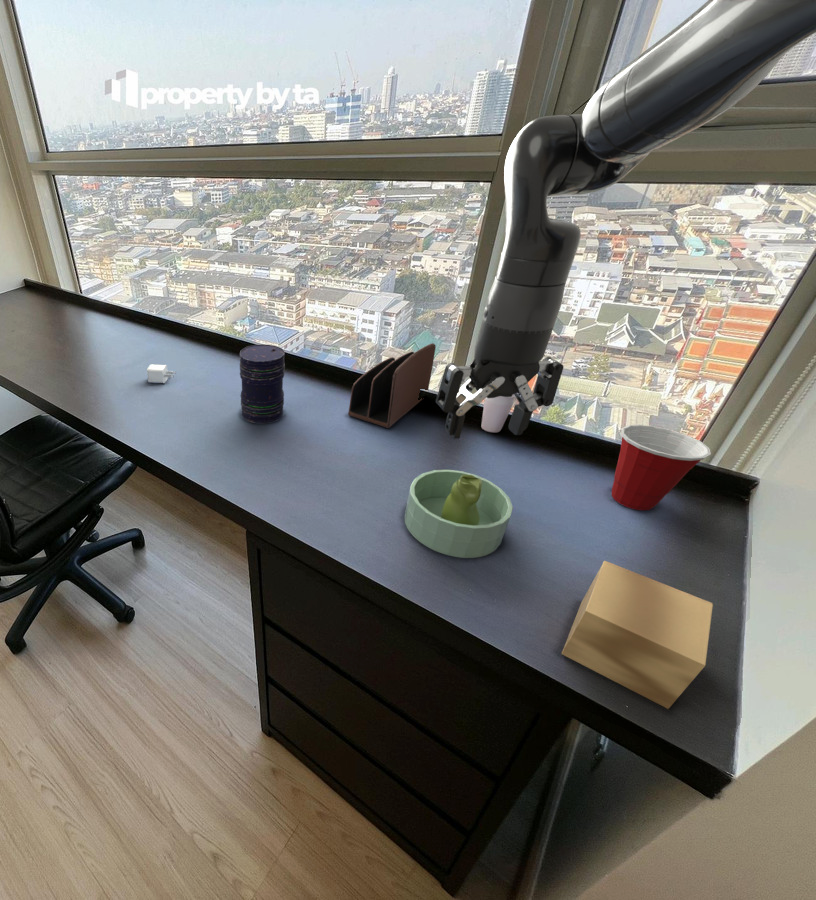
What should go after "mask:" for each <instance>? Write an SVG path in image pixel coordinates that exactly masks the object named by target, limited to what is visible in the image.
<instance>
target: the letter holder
mask: <svg viewBox="0 0 816 900" xmlns="http://www.w3.org/2000/svg"><path fill="white" fill-rule="evenodd" d="M436 346H437V345H436V344H435V343H430V344H427V345H424V346H423V347H421V348H420V349H418V350H416V351H409V352H406V353H403V354H402V355H400V356H399V357H397V358H395V357H393V356H392V357H388V358H386V359H384V360H383V361H381V362H379V363H377V364H376V365H374V366H373V367H371V368H370V369H369V370H367V371H365V372H364V373H363V374H362V375H361V376H360V377H359V378H357V380H355V382H354V383H353V385H352V386H351V393H350V399H349V406H348V413H347V414H348V415H347V416H349V417H353V418H356V419H359V420H362V421H365V422H367V423H371V424H374V425H377V426H380V427H383V428H386V429H389V428H391V427H392V426H393V425H394V424H395V423H396V422H398V421H399V420H400V419H401V418H402V417H403V416H405V415H406V414H407V413H408V412H410V411H411V410H412V409H413V408H415V406H417V405H418V404H419V403H421V401H422V400H423V399H422V398H421V399H420V400H418V398H419V393H420V389H425V390H428V391H429V387H430V384H431V383H430V382H431V377H432V373H433V372H432V371H433V366H434V360H435V354H436Z"/></svg>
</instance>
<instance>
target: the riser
mask: <svg viewBox="0 0 816 900" xmlns="http://www.w3.org/2000/svg"><path fill="white" fill-rule="evenodd" d="M713 607H714V603H713V602H710V601H708V600H706V599H703V598H700V597H697V596H696V595H694V594H691V593H689V592H688V593H687V592H685V591H682V590H680V589H677V588H675V587H674V586H673V587H672V586H670V585H668V584H665V583H663V582H660V581H657V580H656V579H655V580H654V579H653V578H650V577H648V576H645V575H642V574H640V573H637V572H636V571H633V570H630V569H627V568H624V567H622V566H619V565H617V564H615V563H612V562H609V561H607V560H603V562H602V564H601V566H600V568H599V570H598V571H597V573H596V575H595V577H594V578H593V580H592V582H591V584H590V586H589V588H588V589H587V591H586V593H585V595H584V597H583V599H582V600H581V603H580V605H579V607H578V610H577V613H576V616H575V618H574V620H573V623H572V625H571V628H570V631H569V633H568V636H567V639H566V641H565V644H564V646H563V649H562V651H561V655H563V656H564V657H566V658H568V659H570V660H572V661H574V662H576V663H578V664H580V665H582V666H584V667H586V668H587V669H589V670H592V671H593V672H595V673H598V674H599V675H601V676H602V677H605V678H607V679H609V680H611V681H613V682H615V683H617V684H618V685H620V686H622V687H625V688H627V689H629V691H632V692H633V693H636V694H637V695H640V696H642V697H644V698H645V699H648V700H649V701H652V702H654V703H656V704H657V705H660V706H661V707H663V708H665V709H667V710H669V709H670V708H671V707H672V706H673V704H674V703H675V702H676V701H677V700H678V699H679V697H681V696H682V694H683V693H684V691H686V689H687V688H688V687H689V686H690V684H691V683H692V682H693V681H694V680H695V679H696V678H697V676H698V675H699V674H700V673H701V671H702V670H703V669H704V668H705V667H706V666H707V665H706V664H707V656H708V647H709V641H710V640H709V639H710V631H711V623H712V615H713Z"/></svg>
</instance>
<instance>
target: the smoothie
mask: <svg viewBox="0 0 816 900" xmlns="http://www.w3.org/2000/svg"><path fill="white" fill-rule="evenodd" d="M516 400H517V398H516V397H515V395H514V394H513V395H512V397H502V396H499V397H495V398H487V397H486V398H485V399H484V400H483V401H484V402H483V410H482V417H481V426H480V427H481V429H482V430H484V431H485V432H488V433H499V432H501V430H502V429H503V427H504V425H505V422H506V420H507V418H508V416H509V414H510V412H511V410H512V408H513V407H514V405H515V402H516Z"/></svg>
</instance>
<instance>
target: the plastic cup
mask: <svg viewBox="0 0 816 900" xmlns="http://www.w3.org/2000/svg"><path fill="white" fill-rule="evenodd" d="M620 436H621V443H620V451H619V455H618V460H617V464H616V467H615V472H614V478H613V483H612V487H611V497H612V499H613V500H614V501H616V502H617V503H618V504H620V505H621V506H624V507H626V508H628V509H632V510H635V511H650V510H652V509H653V508H654V507H656V506H657V505H659V503H660V502H661V501H662V500H663V498H665V496H666V495H668V494H670V492H671V491H672V490H673V489H674V488H675V487H676V486H677V485H678V483H680V481H681V480H683V478H684V477H685V476H686V475H687V474H688V473H689V472H690V470H692V469H694V467H695V466H696V465H697V464H699V463H700V462H701V461H703V460H705V459H707V458H708V457H709V456H711V455H712V452H711V448H710V447H709V446H708V445H706V444H705V443H704V442H702V441H701V440H699V439H696V438H694V437H693V436H690V435H688V434H686V433H682V432H680V431H676V430H673V429H670V428H666V427H661V426H657V425H650V424H649V425H648V424H640V423H639V424H638V423H637V424H627V425H625V426H622V427H621V429H620Z"/></svg>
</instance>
